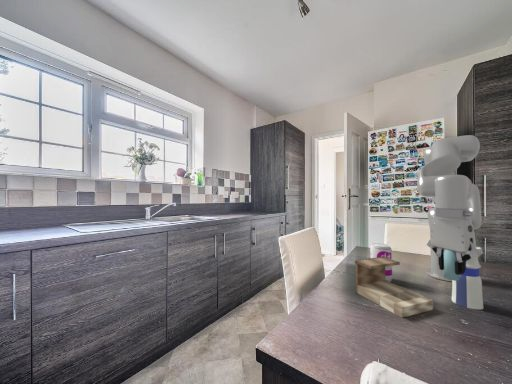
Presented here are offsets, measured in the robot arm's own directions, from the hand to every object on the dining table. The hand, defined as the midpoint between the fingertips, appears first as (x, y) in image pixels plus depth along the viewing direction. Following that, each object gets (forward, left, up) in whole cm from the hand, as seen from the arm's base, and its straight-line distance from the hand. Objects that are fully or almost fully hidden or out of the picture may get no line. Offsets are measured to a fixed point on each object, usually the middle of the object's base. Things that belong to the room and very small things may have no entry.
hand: (451, 270), depth 68 cm
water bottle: (-10, -2, -13) cm, 17 cm away
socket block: (+12, -12, -13) cm, 21 cm away
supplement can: (-1, -27, -13) cm, 30 cm away
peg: (0, 0, -2) cm, 2 cm away
